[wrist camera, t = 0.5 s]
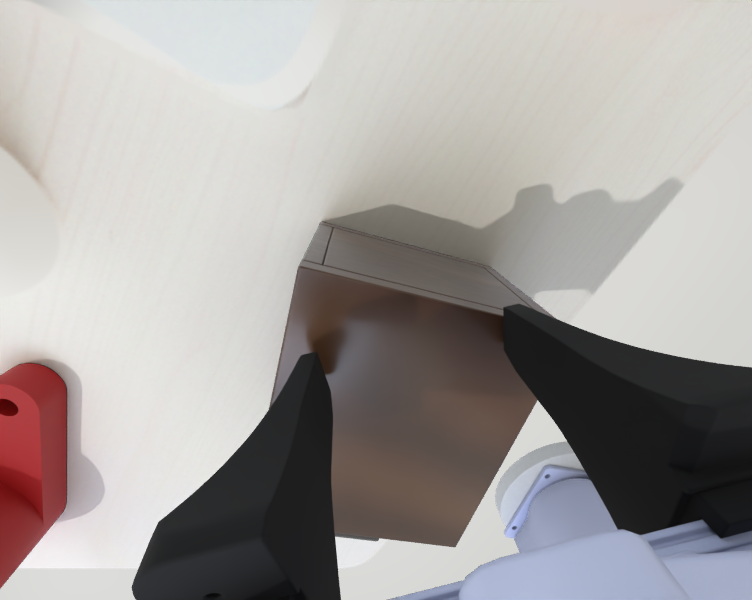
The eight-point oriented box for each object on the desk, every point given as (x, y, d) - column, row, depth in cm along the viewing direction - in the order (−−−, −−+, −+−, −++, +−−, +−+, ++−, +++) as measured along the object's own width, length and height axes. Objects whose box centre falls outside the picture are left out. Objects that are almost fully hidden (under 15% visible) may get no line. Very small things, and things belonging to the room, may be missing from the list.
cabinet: (423, 426, 27) (455, 548, 18) (281, 401, 25) (245, 523, 17) (490, 266, 22) (575, 333, 14) (320, 221, 20) (298, 265, 12)
